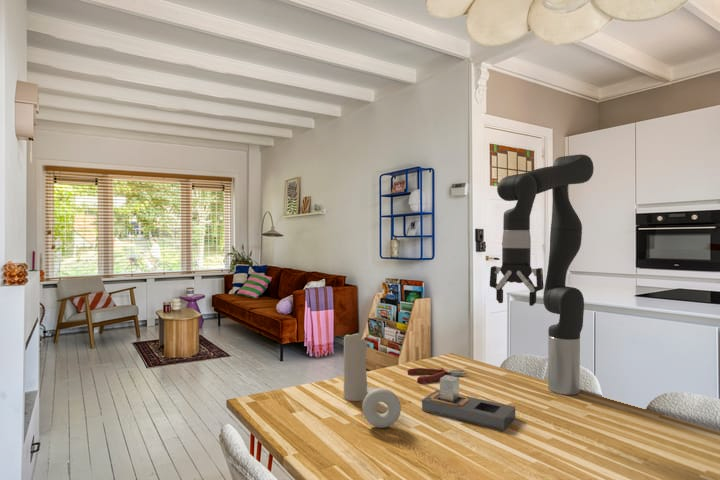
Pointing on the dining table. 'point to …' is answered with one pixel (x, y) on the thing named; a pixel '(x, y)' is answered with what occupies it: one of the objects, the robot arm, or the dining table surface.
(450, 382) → the steel block
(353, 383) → the tall grey curved block
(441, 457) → the dining table surface
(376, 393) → the donut
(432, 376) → the pliers
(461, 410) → the rail
